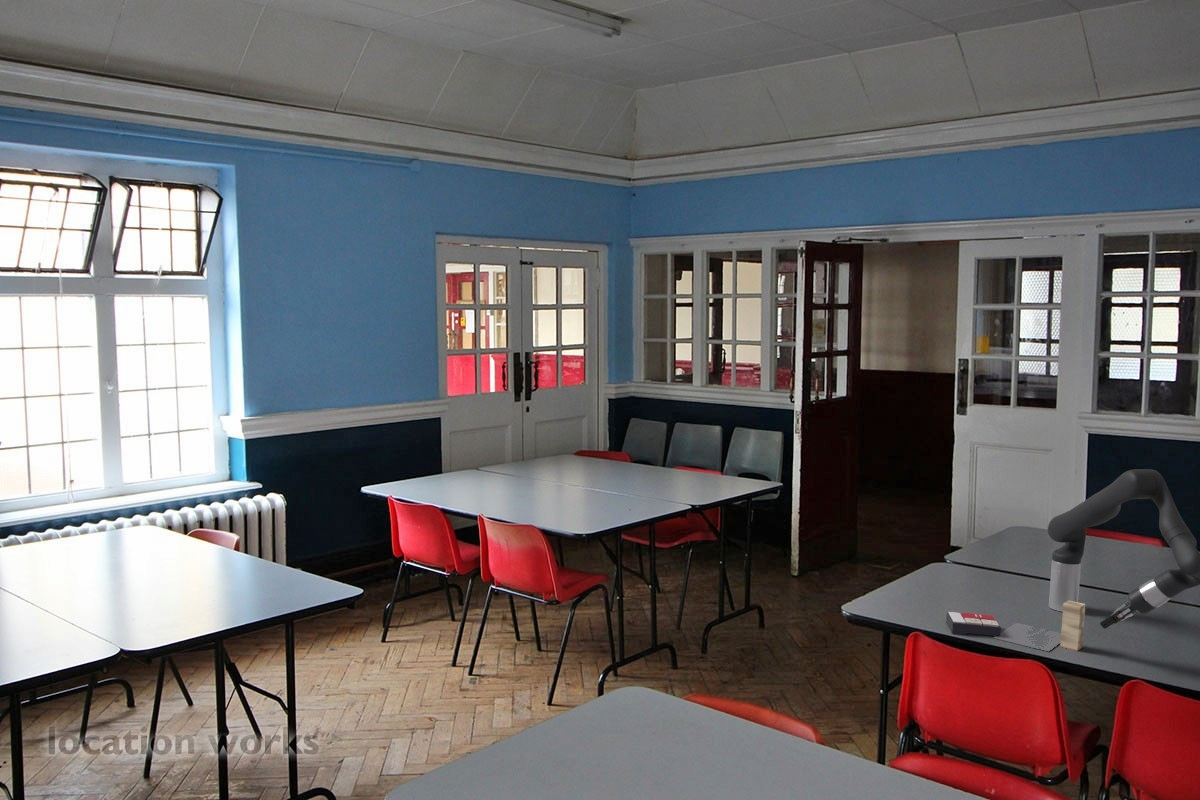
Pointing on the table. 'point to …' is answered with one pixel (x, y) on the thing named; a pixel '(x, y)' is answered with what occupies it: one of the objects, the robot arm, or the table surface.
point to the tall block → (1072, 625)
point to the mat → (1019, 632)
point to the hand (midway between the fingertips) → (1102, 625)
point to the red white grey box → (972, 624)
